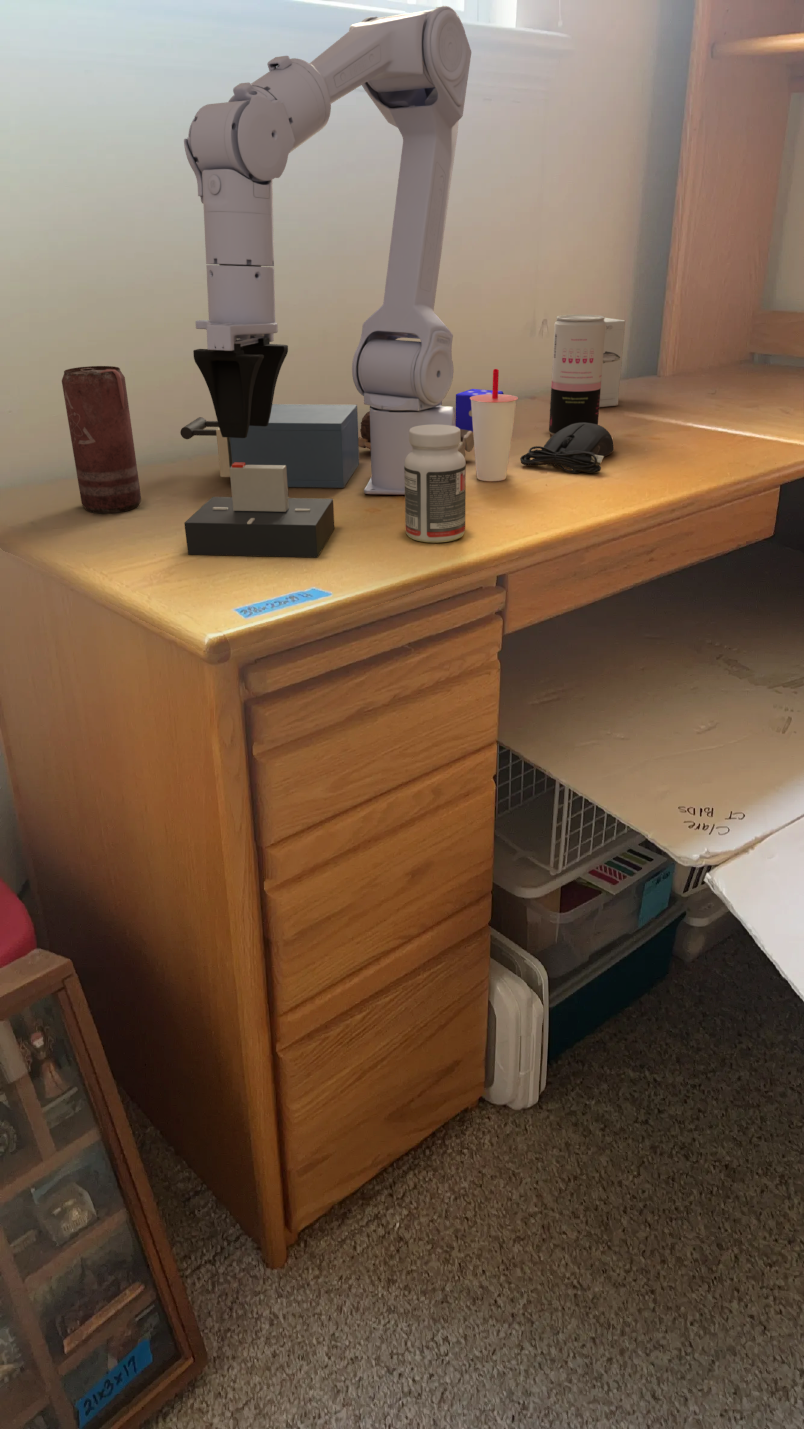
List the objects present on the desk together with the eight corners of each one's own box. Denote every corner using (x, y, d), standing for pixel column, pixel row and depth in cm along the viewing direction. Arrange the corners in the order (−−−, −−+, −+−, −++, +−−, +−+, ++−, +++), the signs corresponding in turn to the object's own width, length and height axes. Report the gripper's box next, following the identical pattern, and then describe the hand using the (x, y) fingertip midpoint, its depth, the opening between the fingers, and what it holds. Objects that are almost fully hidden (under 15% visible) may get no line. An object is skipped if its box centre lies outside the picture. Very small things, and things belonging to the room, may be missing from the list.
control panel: (334, 528, 96) (333, 496, 95) (317, 558, 88) (315, 523, 87) (215, 526, 98) (212, 494, 96) (187, 555, 89) (183, 521, 88)
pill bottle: (472, 529, 95) (474, 424, 91) (455, 546, 91) (457, 437, 86) (415, 524, 97) (415, 421, 93) (396, 541, 92) (395, 433, 88)
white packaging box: (580, 410, 150) (586, 322, 144) (553, 403, 156) (557, 317, 150) (619, 406, 153) (627, 319, 147) (590, 399, 159) (597, 315, 153)
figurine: (481, 468, 126) (381, 448, 132) (488, 425, 124) (387, 407, 130) (454, 470, 119) (350, 449, 125) (460, 425, 117) (355, 406, 123)
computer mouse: (636, 451, 125) (639, 420, 123) (596, 476, 114) (599, 442, 112) (561, 444, 129) (563, 413, 128) (516, 467, 118) (517, 434, 116)
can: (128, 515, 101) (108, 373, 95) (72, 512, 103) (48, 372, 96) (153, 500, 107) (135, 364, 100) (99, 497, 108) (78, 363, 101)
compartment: (234, 486, 112) (228, 422, 108) (258, 462, 122) (254, 403, 119) (343, 488, 110) (341, 423, 107) (359, 464, 121) (357, 404, 117)
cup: (510, 484, 111) (514, 373, 105) (463, 482, 112) (465, 371, 106) (518, 473, 115) (522, 365, 110) (473, 471, 117) (475, 364, 111)
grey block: (289, 507, 92) (286, 462, 90) (286, 512, 91) (282, 465, 89) (237, 507, 92) (232, 461, 90) (233, 511, 91) (228, 465, 89)
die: (454, 430, 138) (455, 393, 136) (471, 424, 142) (471, 388, 139) (486, 434, 136) (487, 396, 133) (502, 427, 139) (503, 391, 137)
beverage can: (553, 428, 138) (559, 314, 131) (600, 430, 136) (609, 314, 130) (544, 437, 133) (550, 318, 126) (593, 440, 131) (602, 319, 124)
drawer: (178, 476, 112) (173, 429, 110) (205, 456, 122) (200, 411, 119) (319, 478, 111) (317, 430, 108) (335, 457, 120) (333, 412, 117)
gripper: (219, 266, 90) (225, 418, 96) (166, 263, 77) (176, 440, 83) (294, 268, 90) (296, 422, 95) (253, 265, 77) (258, 444, 82)
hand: (245, 431), depth 89 cm, fingers open, 7 cm apart
